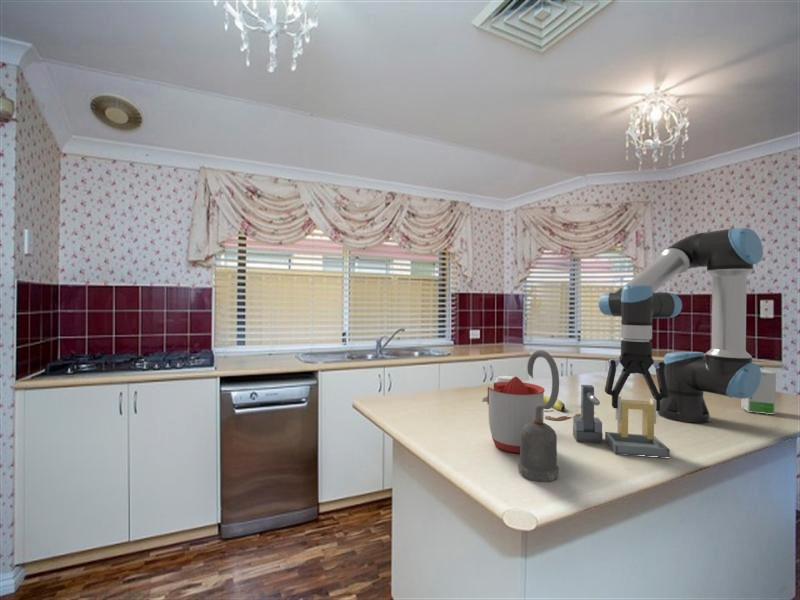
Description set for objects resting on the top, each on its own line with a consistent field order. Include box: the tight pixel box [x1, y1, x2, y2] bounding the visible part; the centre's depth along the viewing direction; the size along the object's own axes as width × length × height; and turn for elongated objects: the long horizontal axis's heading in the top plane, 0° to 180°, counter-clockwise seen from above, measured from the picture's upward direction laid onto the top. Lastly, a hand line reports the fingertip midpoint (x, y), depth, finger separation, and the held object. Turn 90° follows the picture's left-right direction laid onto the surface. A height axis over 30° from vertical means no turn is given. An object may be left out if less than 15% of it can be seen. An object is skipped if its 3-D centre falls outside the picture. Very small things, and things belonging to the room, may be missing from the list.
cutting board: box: [544, 394, 581, 421], centre depth 157 cm, size 35×27×4 cm
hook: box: [517, 349, 560, 483], centre depth 96 cm, size 10×12×30 cm
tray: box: [604, 431, 671, 457], centre depth 112 cm, size 13×11×2 cm
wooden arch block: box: [616, 398, 655, 440], centre depth 112 cm, size 8×4×10 cm, turn 76°
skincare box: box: [740, 369, 777, 414], centre depth 149 cm, size 8×7×16 cm
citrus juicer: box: [481, 376, 546, 454], centre depth 115 cm, size 16×17×20 cm
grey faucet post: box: [572, 384, 604, 445], centre depth 116 cm, size 7×14×16 cm, turn 166°
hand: (635, 420), depth 112 cm, fingers closed on wooden arch block, 8 cm apart
